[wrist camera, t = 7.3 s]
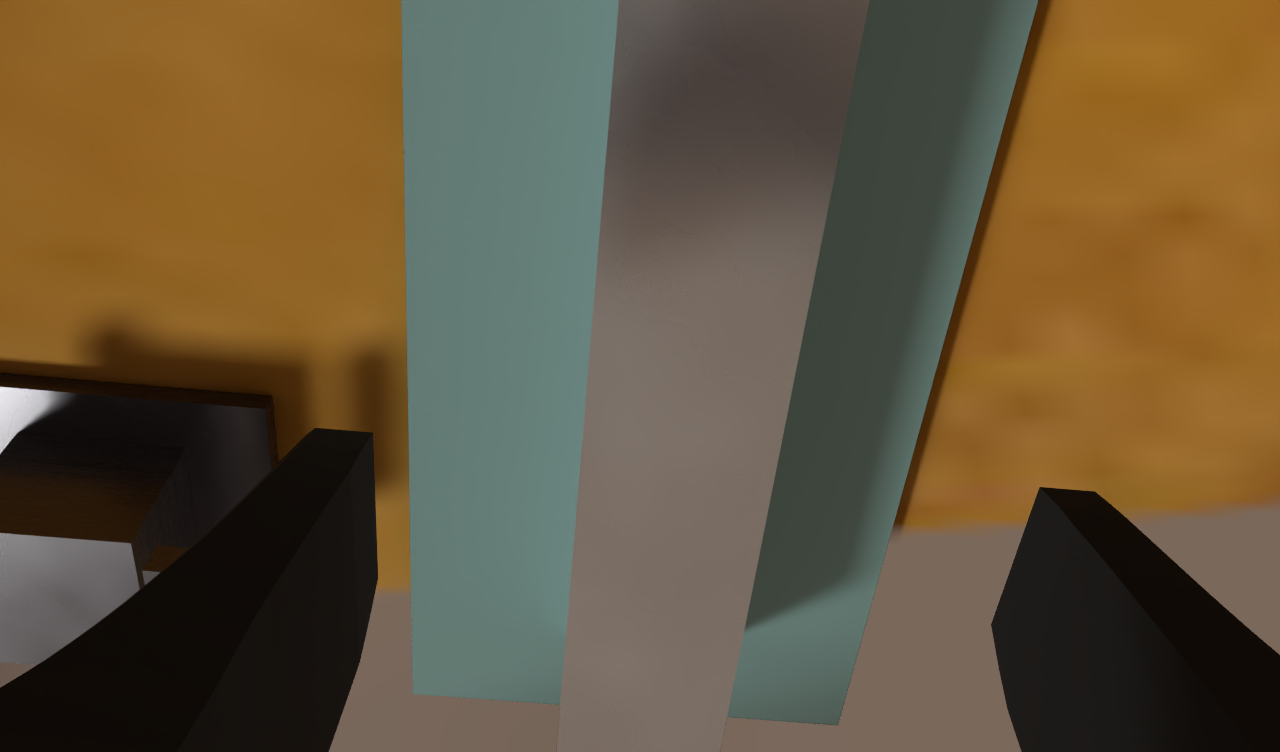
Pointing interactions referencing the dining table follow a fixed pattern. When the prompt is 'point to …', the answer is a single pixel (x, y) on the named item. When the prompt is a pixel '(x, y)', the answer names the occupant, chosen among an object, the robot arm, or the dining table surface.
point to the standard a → (110, 494)
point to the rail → (694, 349)
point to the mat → (562, 321)
